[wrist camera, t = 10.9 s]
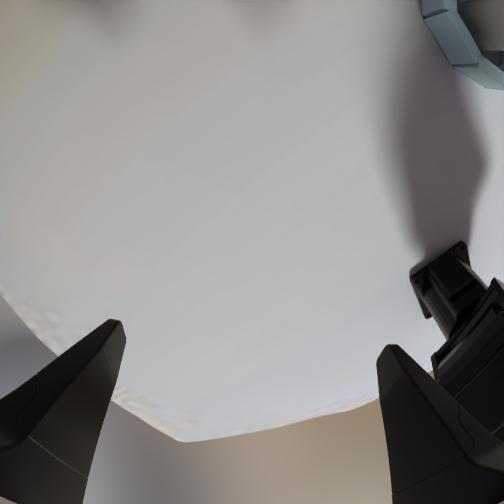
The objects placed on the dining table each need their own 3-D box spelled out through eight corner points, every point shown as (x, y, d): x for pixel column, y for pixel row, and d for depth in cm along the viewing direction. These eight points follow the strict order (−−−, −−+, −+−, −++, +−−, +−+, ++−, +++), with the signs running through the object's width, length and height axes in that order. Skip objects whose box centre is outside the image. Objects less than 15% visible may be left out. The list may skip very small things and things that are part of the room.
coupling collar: (521, 66, 10) (542, 69, 8) (468, 101, 13) (493, 106, 11) (465, -31, 6) (484, -38, 4) (396, -16, 10) (415, -28, 7)
